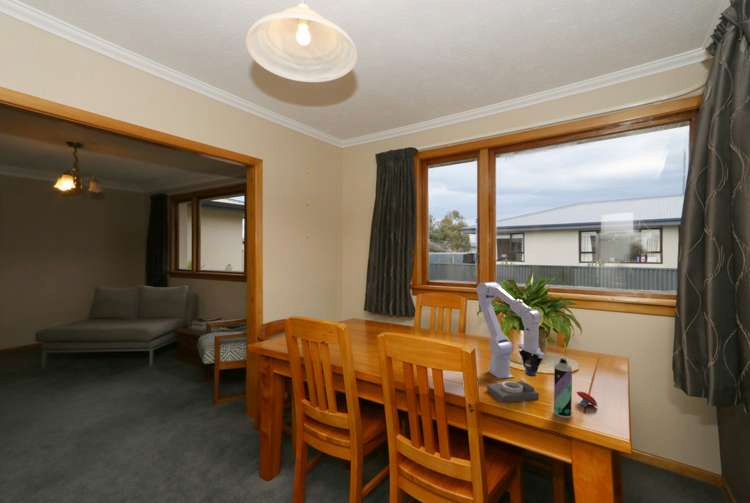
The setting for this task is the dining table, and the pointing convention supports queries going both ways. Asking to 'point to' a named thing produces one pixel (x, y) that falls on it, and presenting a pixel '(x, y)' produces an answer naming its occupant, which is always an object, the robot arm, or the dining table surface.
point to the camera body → (513, 391)
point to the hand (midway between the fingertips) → (530, 369)
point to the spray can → (563, 389)
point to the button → (586, 399)
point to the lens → (529, 368)
